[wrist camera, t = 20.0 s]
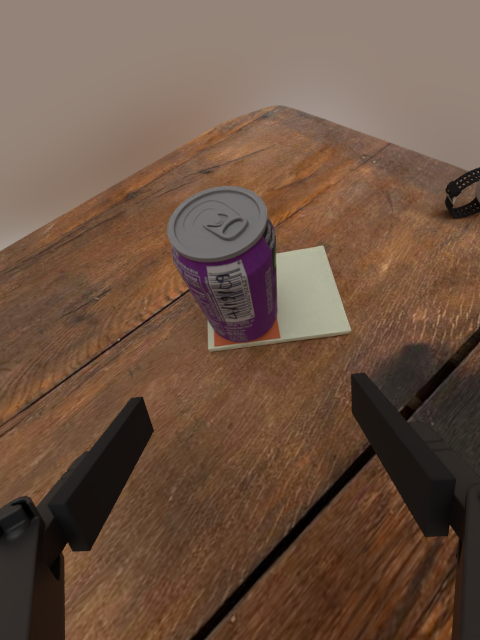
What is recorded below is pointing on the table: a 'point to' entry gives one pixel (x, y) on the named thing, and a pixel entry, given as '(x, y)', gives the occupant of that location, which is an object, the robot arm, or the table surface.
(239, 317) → the beverage can
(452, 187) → the black strap with disc
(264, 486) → the table surface
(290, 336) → the mat
